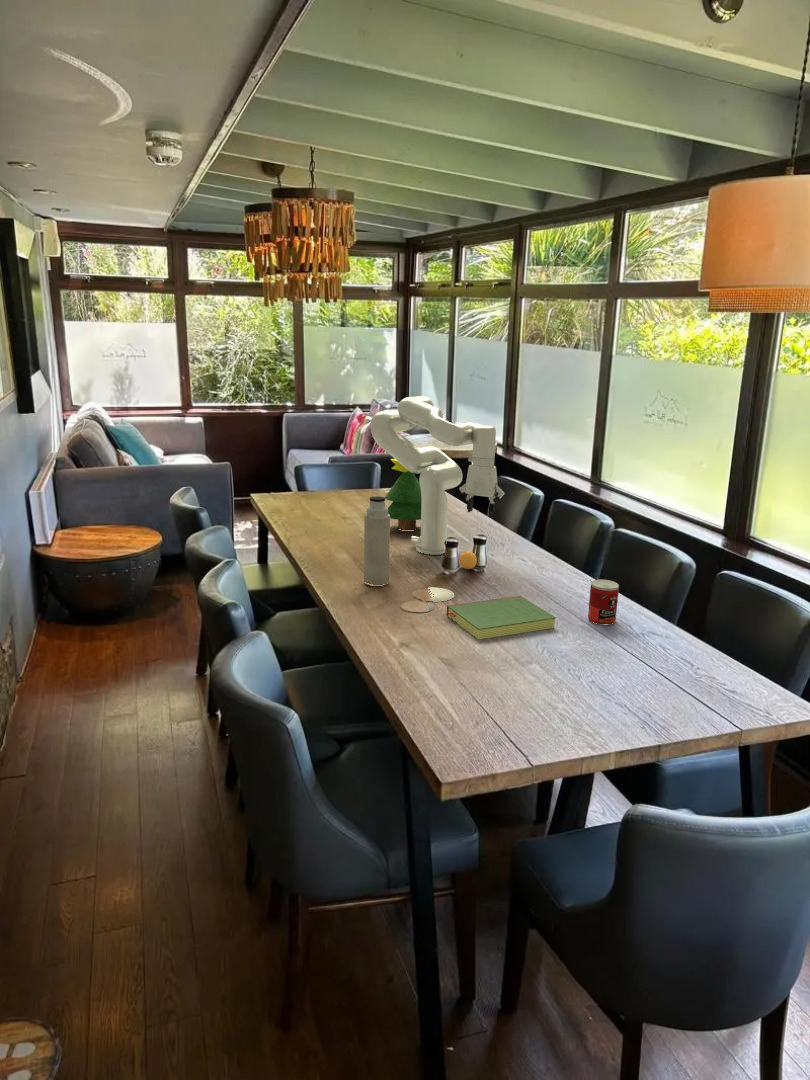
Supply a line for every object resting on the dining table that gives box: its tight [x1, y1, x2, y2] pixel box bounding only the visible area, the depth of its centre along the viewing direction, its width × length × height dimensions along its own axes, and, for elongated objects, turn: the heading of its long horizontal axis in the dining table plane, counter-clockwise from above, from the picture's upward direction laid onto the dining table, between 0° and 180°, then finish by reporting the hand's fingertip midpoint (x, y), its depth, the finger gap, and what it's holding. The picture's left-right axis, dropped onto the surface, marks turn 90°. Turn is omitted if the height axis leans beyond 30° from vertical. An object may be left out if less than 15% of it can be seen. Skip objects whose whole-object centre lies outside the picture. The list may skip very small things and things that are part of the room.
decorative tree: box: [384, 458, 422, 531], centre depth 309 cm, size 19×19×30 cm
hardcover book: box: [446, 595, 557, 640], centre depth 217 cm, size 25×19×4 cm
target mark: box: [428, 586, 455, 603], centre depth 238 cm, size 13×13×1 cm
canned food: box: [587, 579, 620, 625], centre depth 219 cm, size 8×8×11 cm
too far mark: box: [426, 602, 435, 612], centre depth 228 cm, size 10×10×1 cm
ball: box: [458, 551, 478, 570], centre depth 264 cm, size 6×6×6 cm
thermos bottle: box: [363, 495, 391, 585], centre depth 244 cm, size 8×8×28 cm
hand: (480, 512), depth 268 cm, fingers open, 7 cm apart
